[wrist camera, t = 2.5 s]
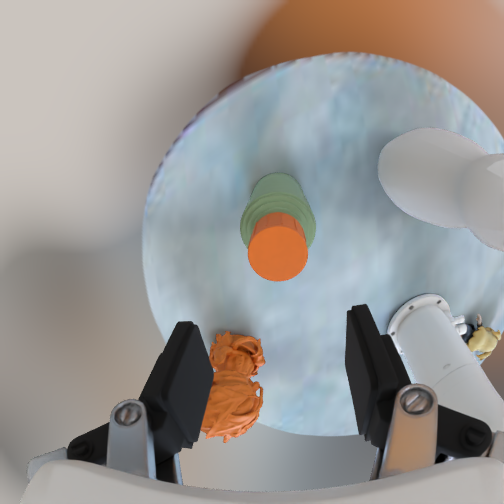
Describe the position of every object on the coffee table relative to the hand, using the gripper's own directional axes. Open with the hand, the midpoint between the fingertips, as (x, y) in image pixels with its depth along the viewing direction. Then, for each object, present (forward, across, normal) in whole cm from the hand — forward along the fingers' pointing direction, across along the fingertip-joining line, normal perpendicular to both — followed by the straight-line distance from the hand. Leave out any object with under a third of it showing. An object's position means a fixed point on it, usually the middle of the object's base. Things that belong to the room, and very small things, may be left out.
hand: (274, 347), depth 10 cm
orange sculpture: (+28, +10, +24) cm, 38 cm away
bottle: (+27, 0, 0) cm, 27 cm away
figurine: (+28, -36, +30) cm, 54 cm away
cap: (+13, 0, 0) cm, 13 cm away
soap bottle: (+28, -20, -2) cm, 34 cm away
